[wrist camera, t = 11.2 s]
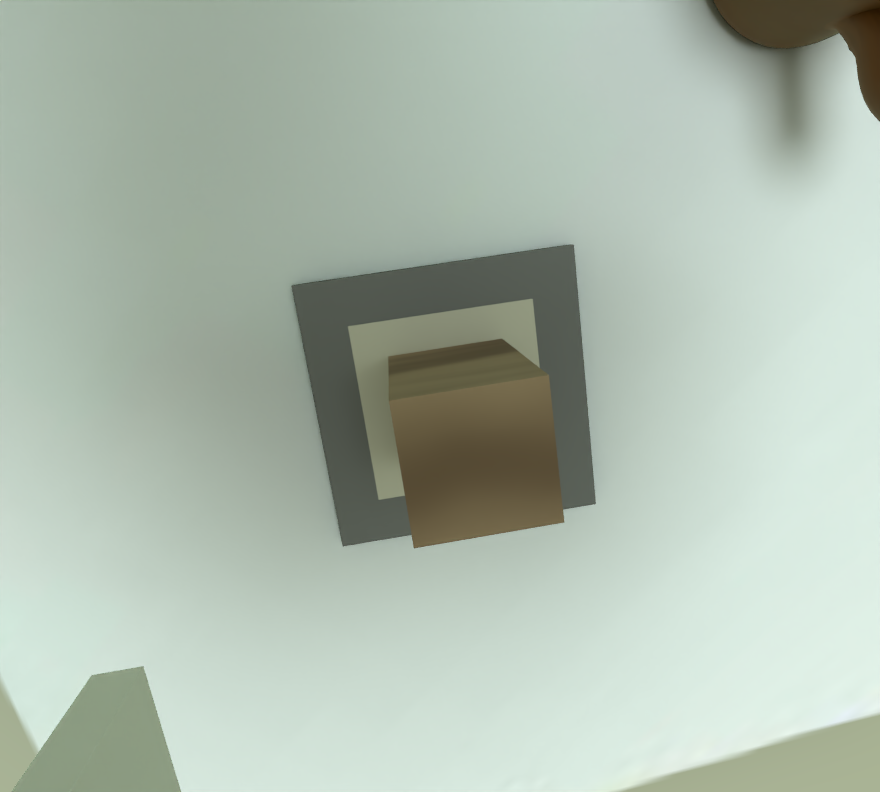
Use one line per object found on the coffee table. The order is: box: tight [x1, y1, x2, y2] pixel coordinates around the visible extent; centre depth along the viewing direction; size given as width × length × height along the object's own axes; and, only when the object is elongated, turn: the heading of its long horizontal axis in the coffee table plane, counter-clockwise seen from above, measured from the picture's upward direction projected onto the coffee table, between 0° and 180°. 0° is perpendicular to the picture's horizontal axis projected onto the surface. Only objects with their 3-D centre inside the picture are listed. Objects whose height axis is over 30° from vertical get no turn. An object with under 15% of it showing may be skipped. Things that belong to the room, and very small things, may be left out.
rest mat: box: [292, 245, 596, 546], centre depth 28 cm, size 12×12×1 cm
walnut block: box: [388, 339, 564, 548], centre depth 23 cm, size 5×5×8 cm
